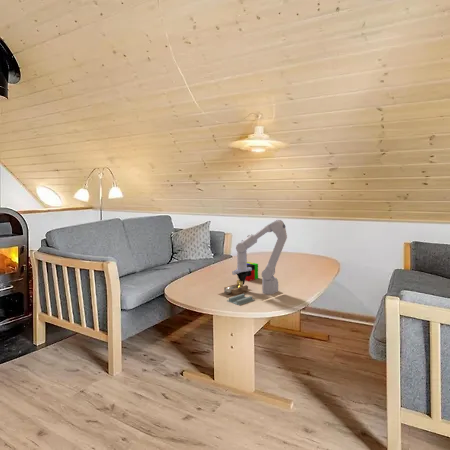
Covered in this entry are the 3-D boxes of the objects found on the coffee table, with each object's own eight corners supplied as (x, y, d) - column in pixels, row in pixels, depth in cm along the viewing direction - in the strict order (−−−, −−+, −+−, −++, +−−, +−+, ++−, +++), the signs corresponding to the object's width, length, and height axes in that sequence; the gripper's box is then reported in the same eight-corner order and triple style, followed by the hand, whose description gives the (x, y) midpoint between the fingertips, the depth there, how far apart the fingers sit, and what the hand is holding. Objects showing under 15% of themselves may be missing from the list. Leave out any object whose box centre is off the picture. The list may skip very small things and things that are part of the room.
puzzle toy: (237, 278, 252) (237, 264, 251) (247, 275, 259) (247, 261, 258) (247, 281, 245) (247, 266, 244) (258, 278, 252) (258, 263, 251)
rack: (242, 297, 212) (242, 293, 212) (254, 301, 205) (254, 297, 205) (226, 302, 205) (226, 297, 204) (239, 306, 197) (239, 302, 197)
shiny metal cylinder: (235, 291, 222) (234, 285, 222) (239, 291, 219) (238, 285, 220) (225, 294, 217) (224, 288, 217) (229, 294, 214) (228, 288, 214)
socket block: (241, 288, 230) (241, 282, 229) (252, 291, 223) (252, 285, 222) (217, 295, 216) (217, 288, 216) (227, 299, 210) (227, 292, 209)
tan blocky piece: (238, 289, 224) (238, 279, 223) (242, 290, 221) (242, 281, 221) (235, 290, 222) (234, 280, 221) (239, 291, 219) (239, 282, 219)
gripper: (245, 259, 229) (246, 280, 231) (228, 263, 220) (228, 285, 221) (254, 261, 224) (254, 282, 226) (236, 265, 214) (237, 287, 216)
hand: (242, 284), depth 223 cm, fingers closed
